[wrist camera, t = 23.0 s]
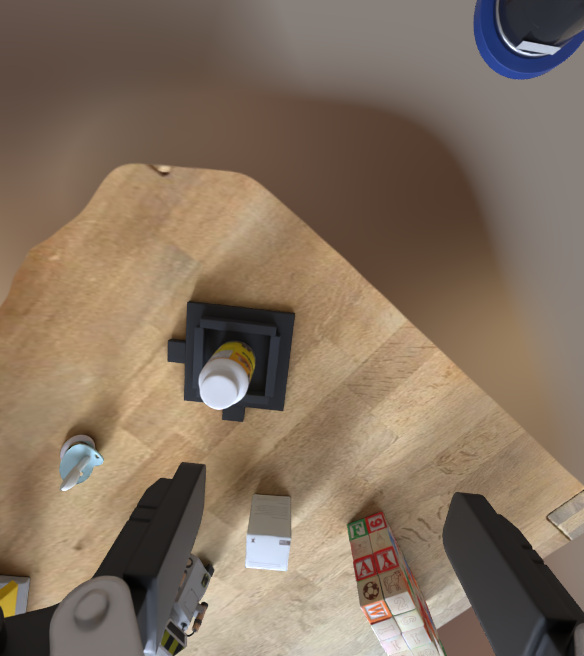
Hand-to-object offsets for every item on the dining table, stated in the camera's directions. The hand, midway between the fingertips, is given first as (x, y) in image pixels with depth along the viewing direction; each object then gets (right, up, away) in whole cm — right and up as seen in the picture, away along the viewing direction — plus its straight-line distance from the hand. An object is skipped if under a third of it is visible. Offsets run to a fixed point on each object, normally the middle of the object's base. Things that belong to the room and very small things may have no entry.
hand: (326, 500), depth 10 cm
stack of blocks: (+15, -34, +43) cm, 57 cm away
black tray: (-10, +1, +34) cm, 36 cm away
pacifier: (-32, -13, +38) cm, 52 cm away
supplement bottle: (-9, +1, +33) cm, 34 cm away
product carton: (-4, -23, +41) cm, 47 cm away
